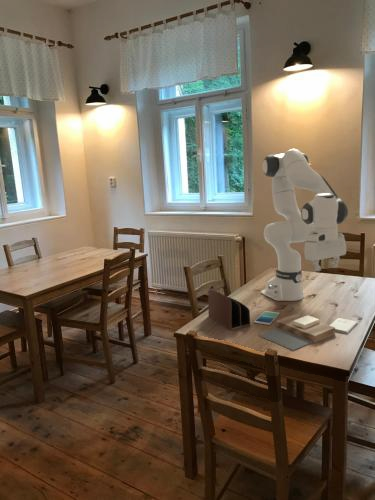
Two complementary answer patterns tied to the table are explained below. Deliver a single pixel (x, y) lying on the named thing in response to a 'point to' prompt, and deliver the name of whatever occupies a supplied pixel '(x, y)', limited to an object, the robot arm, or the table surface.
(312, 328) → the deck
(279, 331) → the mat
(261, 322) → the smartphone
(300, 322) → the cream flat block
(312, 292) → the table surface
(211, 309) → the letter holder
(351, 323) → the external hard drive
